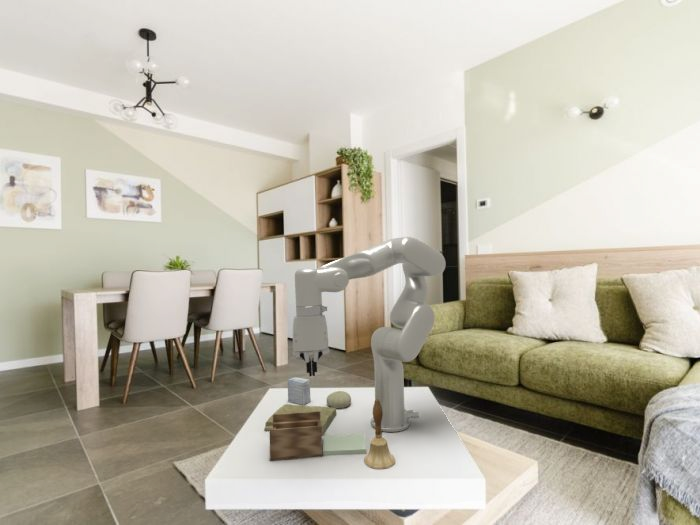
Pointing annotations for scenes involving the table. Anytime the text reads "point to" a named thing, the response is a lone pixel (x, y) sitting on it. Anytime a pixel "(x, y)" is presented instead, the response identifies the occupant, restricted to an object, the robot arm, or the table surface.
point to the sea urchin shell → (339, 399)
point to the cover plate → (344, 444)
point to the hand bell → (378, 444)
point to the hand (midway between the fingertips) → (312, 374)
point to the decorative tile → (325, 412)
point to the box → (296, 436)
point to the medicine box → (299, 390)
